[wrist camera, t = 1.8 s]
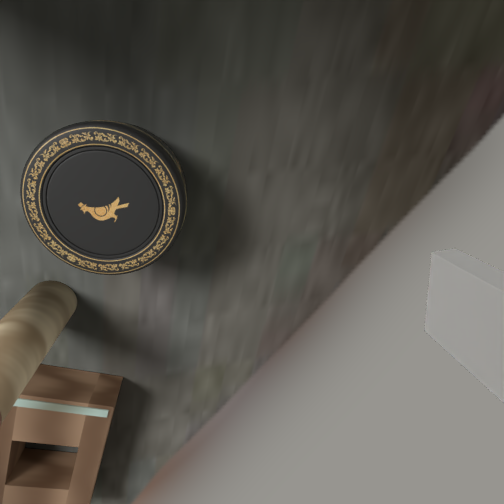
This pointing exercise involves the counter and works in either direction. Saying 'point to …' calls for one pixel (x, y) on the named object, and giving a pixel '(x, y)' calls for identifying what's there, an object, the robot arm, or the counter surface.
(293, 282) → the counter surface
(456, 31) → the counter surface
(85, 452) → the socket board
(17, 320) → the dowel
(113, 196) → the jar
